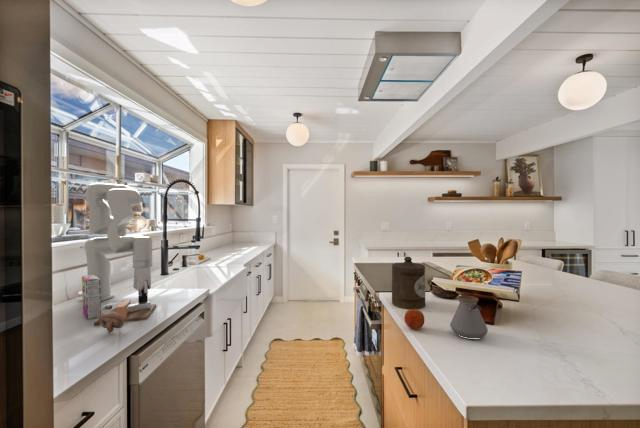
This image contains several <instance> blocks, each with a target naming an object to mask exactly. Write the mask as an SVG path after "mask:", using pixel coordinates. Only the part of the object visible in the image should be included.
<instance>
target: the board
mask: <svg viewBox="0 0 640 428" xmlns="http://www.w3.org/2000/svg"><path fill="white" fill-rule="evenodd" d="M156 307H157V303H154V304H153V303H151V308H147V309H143V310H138V311H134V312H129V313H127V317H126V318H124V323H129V322H130V323H131V322H138V321H146V320H148V319H149V318H150V316H151V315H152V313H153V312H154V311H155V309H156ZM93 322H94V323H93V326H94V327H95V326H102V325H101V324H100V323H99V318H98V319H97V320H95V321H93Z"/></svg>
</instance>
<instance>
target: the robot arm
mask: <svg viewBox="0 0 640 428" xmlns="http://www.w3.org/2000/svg"><path fill="white" fill-rule="evenodd" d="M85 198H86V201H87V203H88V209H89V210H88V229H89V232H90V234H92V235H95V236H97V235H98V236H97V237H92V238H89V239H87V240H86V241H85V243H84V251H85V257H86V264H87V265H86V268H87V269H86V270H87V273H86V274H87V275H86V276H90V275H96V276H97V277H98V278H100V294H101V301H105V300H109V299H112V298H114V297H115V293H113V292H111V291H112V289H111V285H112V283H111V281H112V280H111V277H112V276H111V275H112V274H111V262H110V260H109V259H108V258H107V256H108V255H109V256H111V255H116V254H117V255H118V254H124V253H132V268H133V285H132V286H133V288H134V289H135V290H136V291H138V292H137V293H138V299H137V300H138V303H140V302H145V301H149V300H148V295H149V294H148V293H149V291H148V290H150V289H151V288H152V275H151V274H152V273H151V267H153V238H152V236H149V235H148V236H145V235H142V234H141V235H140V234H137V235H127V223H129V222H130V221H132V220H133V219H134V217H135V214H134V210H133V207H136V206H139V205H140V204H141V202H142V197H141V194H140V192H139V191H138V190H137V189H136V188H133V187H130V186H129V185H126V184H119V183H105V182H94V183H91V184H89V185H88V186H87V187H86V190H85ZM110 214H111V215H110ZM101 235H107V236H101ZM77 296H78V297H82V291H79V292H78V293H77Z"/></svg>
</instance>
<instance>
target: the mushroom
mask: <svg viewBox="0 0 640 428" xmlns="http://www.w3.org/2000/svg"><path fill="white" fill-rule="evenodd" d="M98 319H99V323H100V324H101V325H100V326H101V327H102V328H104V329H106V330H107V332H108V334H112V333H113V332H114V330H115V329H118V330H119V329H121V328H122V327H123V326H124V325H125V324H124V323H125V322H124V319H123V317H122V316H121V315H120V314H118V313H117V312H108V313H104V314H102V315H101V316H100V317H98Z"/></svg>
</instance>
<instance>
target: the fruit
mask: <svg viewBox="0 0 640 428" xmlns="http://www.w3.org/2000/svg"><path fill="white" fill-rule="evenodd" d="M403 319H404V323H405V325H406V326H407V327H408V328H410V329H411V330H414V329H415V331H417V330H419V329H421V328H422V327H423V326H424V325H425V315H424V313H423V312H422V311H421V310H419V309H407V310H406V312H405V314H404V318H403Z"/></svg>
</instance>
